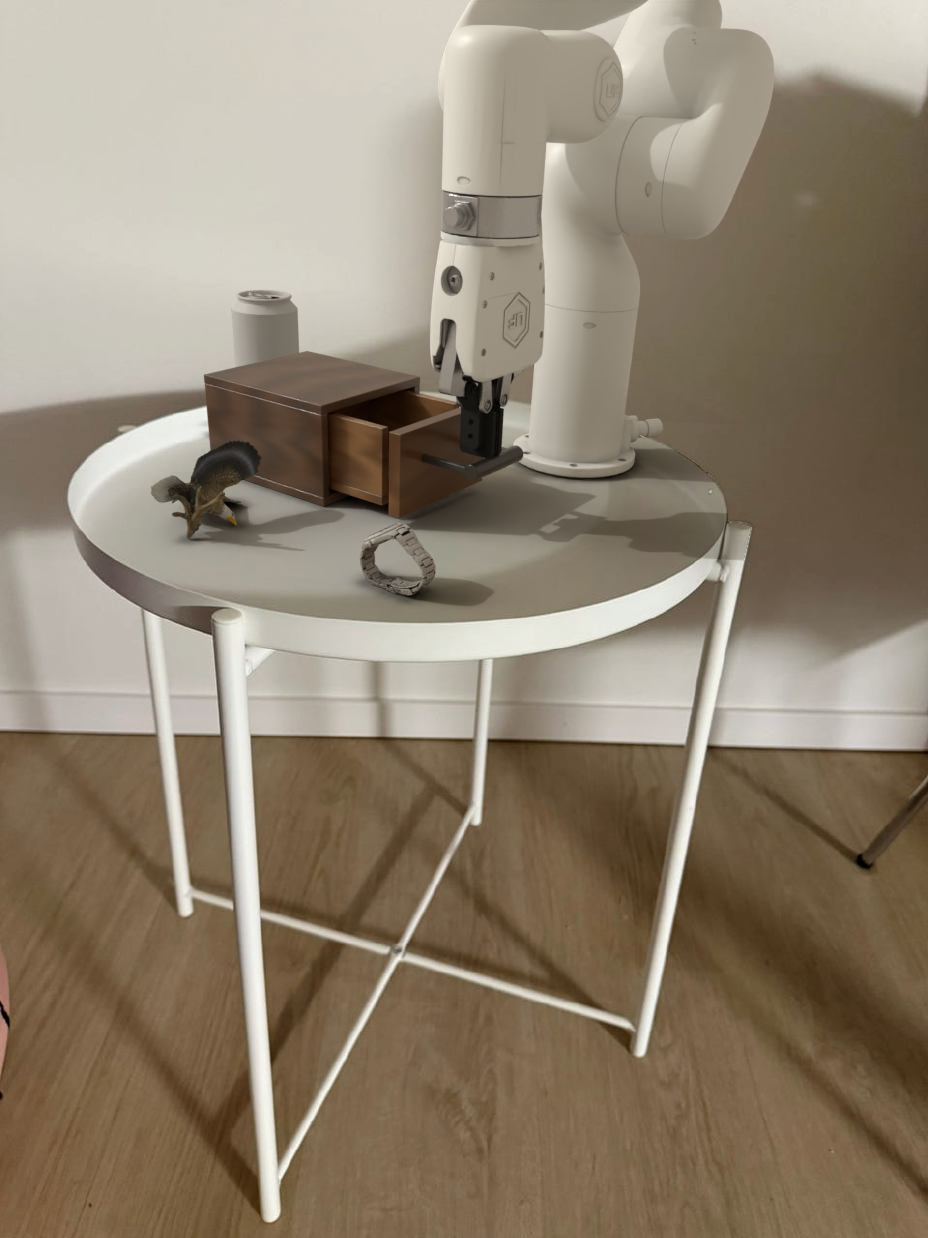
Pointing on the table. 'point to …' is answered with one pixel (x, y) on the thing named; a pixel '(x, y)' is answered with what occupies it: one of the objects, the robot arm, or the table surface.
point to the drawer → (404, 452)
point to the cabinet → (293, 414)
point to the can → (264, 326)
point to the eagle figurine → (209, 483)
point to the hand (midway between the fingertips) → (480, 452)
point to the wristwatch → (411, 546)
